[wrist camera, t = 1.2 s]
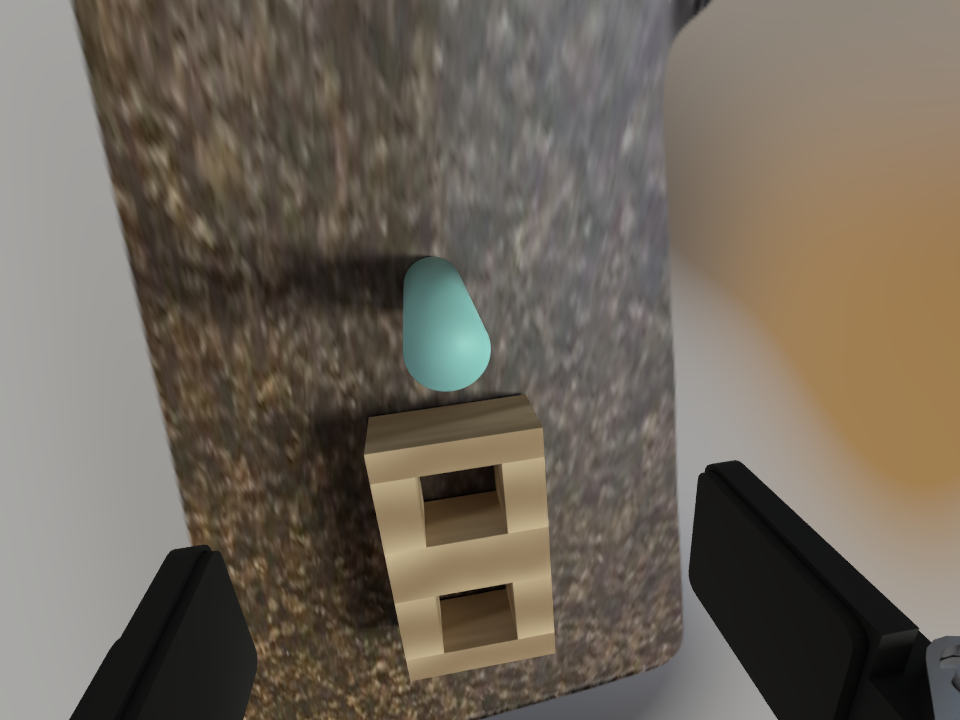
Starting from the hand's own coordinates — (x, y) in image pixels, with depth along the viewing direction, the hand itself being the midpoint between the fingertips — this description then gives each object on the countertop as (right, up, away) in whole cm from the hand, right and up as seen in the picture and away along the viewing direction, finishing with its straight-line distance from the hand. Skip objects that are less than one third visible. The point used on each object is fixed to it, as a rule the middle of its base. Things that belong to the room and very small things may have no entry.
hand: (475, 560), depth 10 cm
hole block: (-1, -6, +22) cm, 23 cm away
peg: (-2, +8, +17) cm, 19 cm away
